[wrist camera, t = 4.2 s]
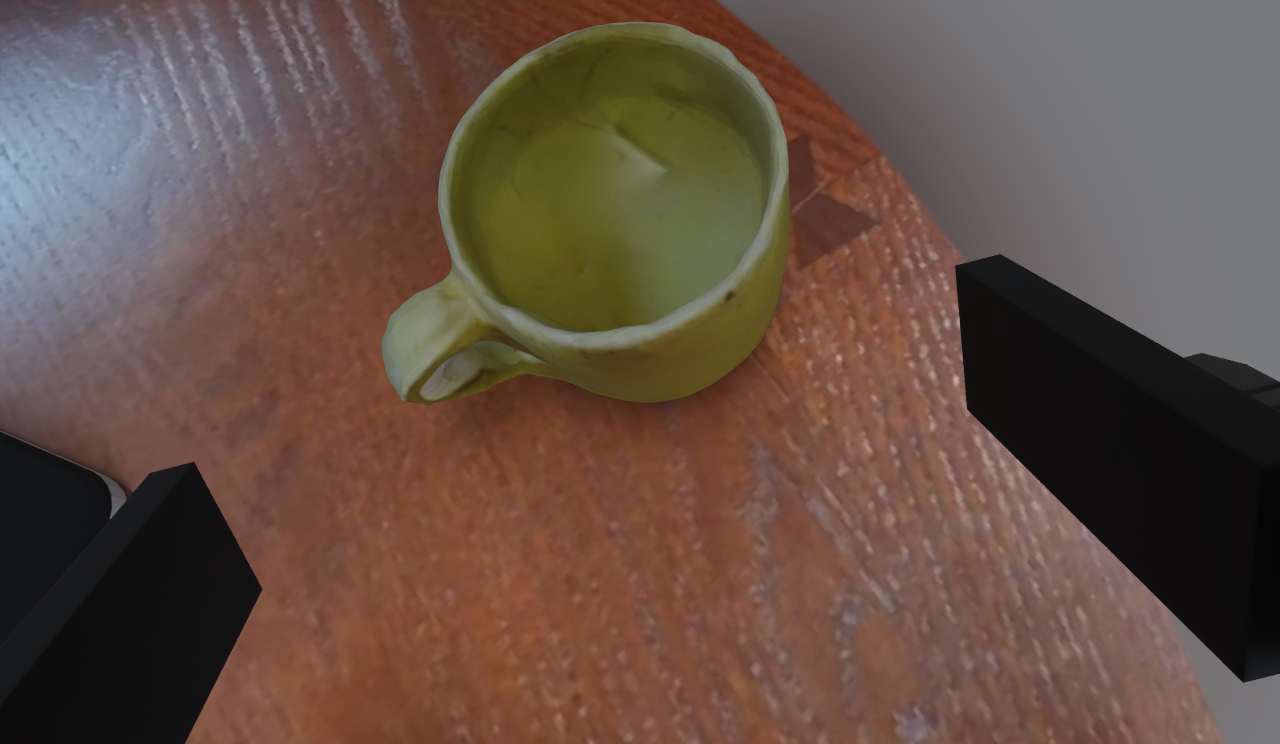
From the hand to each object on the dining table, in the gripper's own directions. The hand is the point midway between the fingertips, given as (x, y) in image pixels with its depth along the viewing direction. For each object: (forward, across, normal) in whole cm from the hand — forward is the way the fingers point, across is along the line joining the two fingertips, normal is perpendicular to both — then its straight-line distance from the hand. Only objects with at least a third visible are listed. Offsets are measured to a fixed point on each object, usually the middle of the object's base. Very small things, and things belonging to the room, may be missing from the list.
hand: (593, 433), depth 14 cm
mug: (+14, 0, -3) cm, 15 cm away
